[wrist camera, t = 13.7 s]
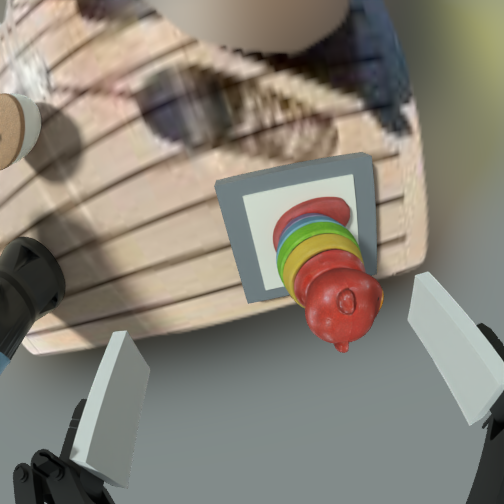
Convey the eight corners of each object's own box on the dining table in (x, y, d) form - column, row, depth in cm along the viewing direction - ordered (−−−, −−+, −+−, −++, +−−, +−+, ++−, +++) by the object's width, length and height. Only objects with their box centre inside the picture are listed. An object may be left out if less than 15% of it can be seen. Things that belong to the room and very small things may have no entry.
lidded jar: (2, 109, 28) (-36, 117, 20) (46, 79, 27) (6, 79, 19) (15, 167, 33) (-22, 184, 25) (59, 144, 32) (20, 157, 24)
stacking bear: (340, 269, 40) (389, 363, 24) (270, 272, 40) (288, 377, 24) (350, 196, 35) (425, 268, 19) (271, 196, 35) (299, 276, 19)
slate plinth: (247, 291, 45) (248, 305, 42) (216, 180, 37) (214, 187, 34) (369, 264, 44) (377, 275, 41) (362, 152, 35) (372, 156, 32)
